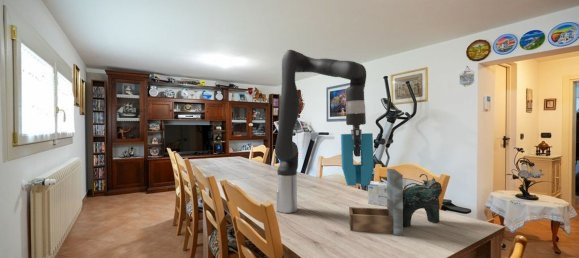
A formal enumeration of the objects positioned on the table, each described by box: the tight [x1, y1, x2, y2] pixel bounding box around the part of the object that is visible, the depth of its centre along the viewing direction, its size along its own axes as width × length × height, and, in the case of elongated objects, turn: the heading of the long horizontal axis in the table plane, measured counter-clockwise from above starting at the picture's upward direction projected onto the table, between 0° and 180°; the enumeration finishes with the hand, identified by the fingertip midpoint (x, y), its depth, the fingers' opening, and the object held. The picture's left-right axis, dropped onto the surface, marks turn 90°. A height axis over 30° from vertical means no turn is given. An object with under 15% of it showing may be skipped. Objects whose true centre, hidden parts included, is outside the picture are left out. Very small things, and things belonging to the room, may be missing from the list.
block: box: [340, 132, 375, 187], centre depth 106 cm, size 12×5×20 cm, turn 82°
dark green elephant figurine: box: [403, 173, 443, 228], centre depth 108 cm, size 20×6×20 cm, turn 108°
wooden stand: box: [348, 168, 404, 237], centre depth 105 cm, size 18×14×22 cm
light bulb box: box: [367, 180, 387, 207], centre depth 137 cm, size 11×7×11 cm, turn 58°
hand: (357, 155), depth 106 cm, fingers closed on block, 5 cm apart
